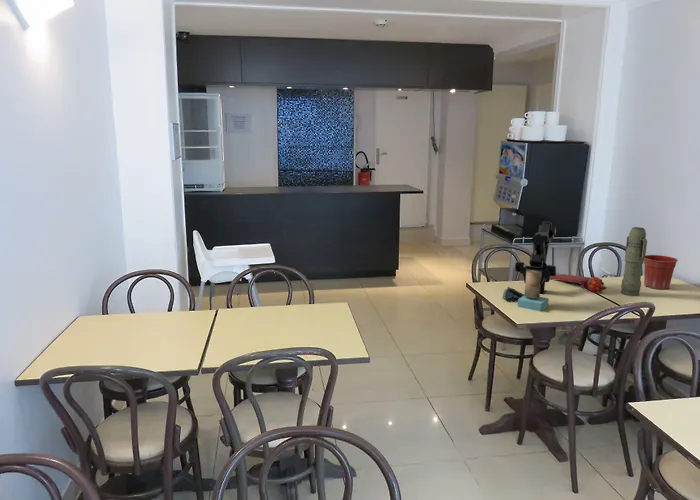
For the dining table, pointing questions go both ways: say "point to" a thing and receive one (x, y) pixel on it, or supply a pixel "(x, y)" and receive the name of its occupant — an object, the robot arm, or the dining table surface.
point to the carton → (572, 279)
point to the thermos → (634, 261)
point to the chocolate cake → (511, 295)
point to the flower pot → (658, 271)
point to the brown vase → (532, 284)
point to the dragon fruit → (596, 285)
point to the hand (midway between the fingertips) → (532, 283)
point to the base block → (533, 303)
